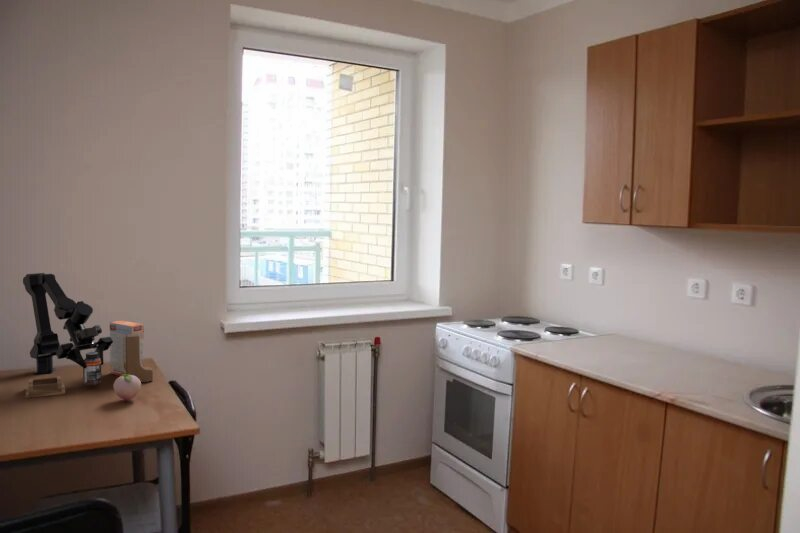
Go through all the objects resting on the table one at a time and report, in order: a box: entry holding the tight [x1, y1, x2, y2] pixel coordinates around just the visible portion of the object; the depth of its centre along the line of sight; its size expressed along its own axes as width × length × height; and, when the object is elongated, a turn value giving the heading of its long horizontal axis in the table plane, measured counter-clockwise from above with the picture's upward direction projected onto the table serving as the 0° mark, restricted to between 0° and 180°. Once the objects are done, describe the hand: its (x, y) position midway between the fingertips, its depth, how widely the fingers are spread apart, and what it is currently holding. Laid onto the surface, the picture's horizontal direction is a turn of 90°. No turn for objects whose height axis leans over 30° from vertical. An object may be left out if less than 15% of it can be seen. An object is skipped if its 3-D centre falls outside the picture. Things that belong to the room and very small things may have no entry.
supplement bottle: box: [82, 351, 102, 386], centre depth 223 cm, size 6×6×11 cm
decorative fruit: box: [112, 372, 142, 402], centre depth 209 cm, size 9×8×10 cm
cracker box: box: [109, 320, 145, 377], centre depth 240 cm, size 14×6×21 cm, turn 58°
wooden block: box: [126, 334, 154, 383], centre depth 232 cm, size 9×4×18 cm, turn 118°
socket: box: [25, 376, 66, 399], centre depth 218 cm, size 12×12×4 cm
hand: (94, 366), depth 222 cm, fingers closed on supplement bottle, 6 cm apart
